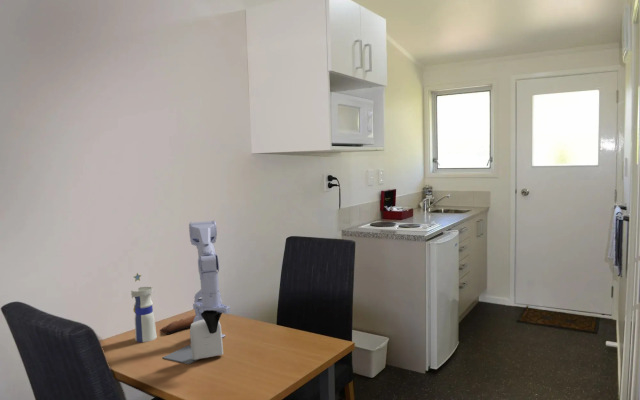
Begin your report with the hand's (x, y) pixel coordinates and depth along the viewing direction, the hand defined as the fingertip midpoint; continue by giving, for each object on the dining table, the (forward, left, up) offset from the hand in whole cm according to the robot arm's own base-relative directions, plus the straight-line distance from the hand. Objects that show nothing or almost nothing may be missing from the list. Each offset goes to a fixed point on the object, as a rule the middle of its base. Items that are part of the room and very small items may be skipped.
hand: (213, 332), depth 155 cm
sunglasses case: (-36, +21, -10) cm, 43 cm away
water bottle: (-40, +5, -10) cm, 42 cm away
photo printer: (-3, 0, -9) cm, 9 cm away
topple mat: (-12, 0, -9) cm, 15 cm away
